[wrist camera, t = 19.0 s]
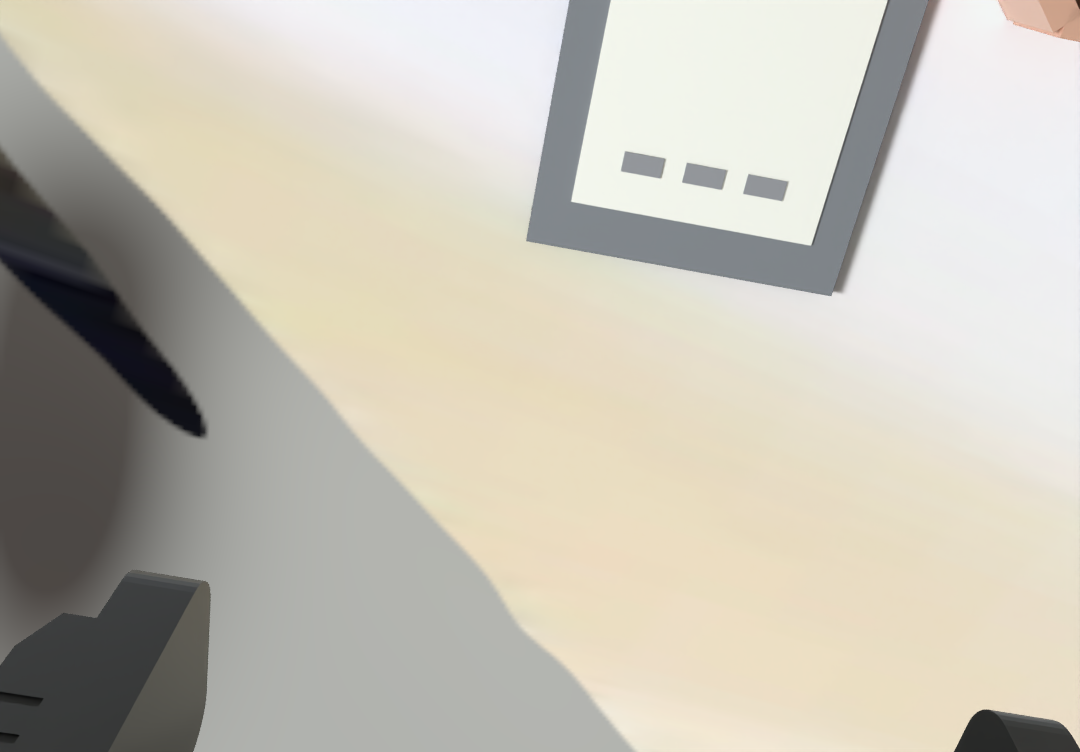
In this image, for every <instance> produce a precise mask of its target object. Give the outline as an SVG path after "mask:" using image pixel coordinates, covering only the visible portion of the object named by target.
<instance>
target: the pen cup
mask: <svg viewBox="0 0 1080 752" xmlns="http://www.w3.org/2000/svg"><path fill="white" fill-rule="evenodd" d="M998 2H999V4H1000V6H1001V8H1002V10H1003V12H1004V14H1005V16H1006V18H1007V20H1010V21H1014V23H1013V24H1014V25H1017V26H1021V27H1024V28H1028V29H1031V30H1034V31H1038V32H1041V33H1045V34H1048V35H1052V36H1055V37H1058V38H1063V39H1068V40H1073V41H1078V42H1080V0H998Z"/></svg>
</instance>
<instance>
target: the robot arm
mask: <svg viewBox="0 0 1080 752" xmlns="http://www.w3.org/2000/svg"><path fill="white" fill-rule="evenodd" d="M209 623H210V587H209V584H208V582H206V581H200V580H194V579H188V578H182V577H176V576H169V575H163V574H157V573H151V572H145V571H138V570H132V571H130V572H128V573H127V574H126V576H125V577H124V578H123V579H122V581H121V582H120V584H119V585H118V587H117V588H116V590H115V591H114V593H113V594H112V596H111V598H110V599H109V600H108V602H107V603H106V605H105V606H104V608H103V609H102V611H101V613H100V614H99V616H98V617H97V618H92V617H86V616H79V615H73V614H66V613H63V614H61V615H60V616H58V617H57V618H55V619H54V620H52V621H51V622H49V623H48V624H47V625H45V626H43V627H42V628H41V629H39V630H38V631H36V632H35V633H33V634H32V635H30V636H29V637H27V638H26V639H24V640H23V641H21V642H20V643H18V644H17V645H16V646H14V648H13V649H12V650H11V652H10V653H9V654H8V656H7V657H6V658H5V660H4V661H3V663H2V664H1V665H0V752H193V751H194V748H195V745H196V742H197V738H198V735H199V731H200V727H201V723H202V719H203V714H204V709H205V702H206V693H207V669H208V647H209ZM954 752H1080V749H1079V747H1078V745H1077V744H1076V742H1075V740H1074V738H1073V737H1072V735H1071V734H1070V732H1069V731H1068V730H1067V729H1066V728H1065V727H1064V726H1063V725H1062V724H1061V723H1059V722H1057V721H1054V720H1049V719H1043V718H1036V717H1030V716H1024V715H1018V714H1012V713H1005V712H999V711H993V710H981V711H979V712H977V713H976V714H975V715H974V716H973V717H972V718H971V720H970V721H969V723H968V725H967V727H966V729H965V731H964V733H963V735H962V737H961V739H960V741H959V743H958V745H957V747H956V749H955V751H954Z"/></svg>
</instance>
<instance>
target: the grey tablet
mask: <svg viewBox="0 0 1080 752" xmlns="http://www.w3.org/2000/svg"><path fill="white" fill-rule="evenodd" d="M928 1H929V0H570V1H569V6H568V12H567V17H566V23H565V29H564V34H563V40H562V45H561V51H560V56H559V62H558V67H557V73H556V79H555V84H554V90H553V95H552V101H551V106H550V112H549V117H548V123H547V128H546V134H545V140H544V145H543V151H542V156H541V162H540V167H539V173H538V178H537V184H536V189H535V195H534V201H533V206H532V212H531V217H530V223H529V228H528V234H527V240H526V241H529V242H535V243H540V244H546V245H551V246H557V247H562V248H568V249H573V250H579V251H584V252H590V253H595V254H601V255H606V256H612V257H617V258H623V259H629V260H634V261H640V262H645V263H651V264H656V265H662V266H667V267H673V268H678V269H684V270H689V271H695V272H700V273H706V274H711V275H717V276H723V277H728V278H734V279H739V280H745V281H750V282H756V283H761V284H767V285H772V286H778V287H783V288H789V289H794V290H800V291H805V292H811V293H816V294H822V295H828V296H831V295H832V292H833V289H834V286H835V283H836V280H837V277H838V274H839V271H840V268H841V265H842V262H843V259H844V256H845V253H846V250H847V247H848V244H849V241H850V238H851V235H852V232H853V229H854V226H855V222H856V219H857V216H858V213H859V210H860V207H861V204H862V201H863V198H864V195H865V192H866V189H867V186H868V183H869V180H870V177H871V174H872V171H873V168H874V165H875V162H876V159H877V156H878V153H879V150H880V147H881V143H882V140H883V137H884V134H885V131H886V128H887V125H888V122H889V119H890V116H891V113H892V110H893V107H894V104H895V101H896V98H897V95H898V92H899V89H900V86H901V83H902V80H903V77H904V74H905V71H906V67H907V64H908V61H909V58H910V55H911V52H912V49H913V46H914V43H915V40H916V37H917V34H918V31H919V28H920V25H921V22H922V19H923V16H924V13H925V10H926V7H927V4H928Z"/></svg>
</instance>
